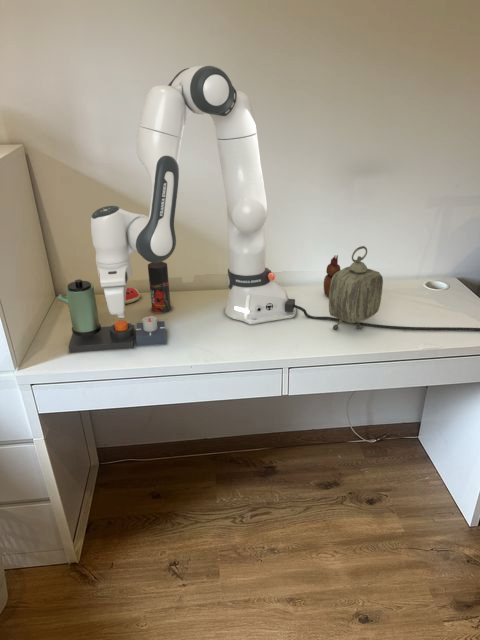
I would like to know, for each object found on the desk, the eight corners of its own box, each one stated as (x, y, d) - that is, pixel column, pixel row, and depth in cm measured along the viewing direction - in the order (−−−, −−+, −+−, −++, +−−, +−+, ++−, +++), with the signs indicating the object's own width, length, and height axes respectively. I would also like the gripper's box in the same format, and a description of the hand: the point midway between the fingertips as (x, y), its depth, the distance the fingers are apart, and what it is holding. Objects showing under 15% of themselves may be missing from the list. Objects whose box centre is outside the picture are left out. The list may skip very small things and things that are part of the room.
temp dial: (143, 326, 157) (141, 315, 155) (157, 324, 158) (156, 314, 156) (143, 332, 154) (142, 321, 152) (157, 331, 154) (156, 320, 153)
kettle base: (135, 330, 161) (133, 318, 159) (133, 348, 152) (132, 335, 150) (75, 334, 159) (72, 322, 157) (69, 353, 149) (67, 340, 147)
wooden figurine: (341, 300, 182) (344, 257, 174) (323, 299, 182) (326, 256, 174) (338, 292, 188) (342, 250, 180) (322, 291, 188) (324, 250, 180)
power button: (128, 325, 156) (127, 319, 155) (127, 331, 153) (127, 325, 152) (115, 326, 155) (114, 320, 155) (114, 332, 152) (113, 325, 151)
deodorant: (174, 307, 176) (170, 263, 168) (164, 314, 171) (159, 269, 164) (159, 304, 178) (154, 260, 171) (148, 311, 173) (143, 266, 166)
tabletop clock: (356, 315, 171) (363, 238, 159) (380, 324, 166) (389, 245, 153) (326, 329, 162) (332, 249, 150) (350, 340, 157) (358, 257, 144)
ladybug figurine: (145, 297, 182) (144, 287, 181) (123, 307, 175) (122, 297, 173) (130, 293, 186) (129, 283, 184) (109, 303, 178) (107, 293, 177)
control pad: (165, 330, 162) (164, 320, 160) (166, 344, 154) (165, 334, 152) (137, 332, 160) (136, 322, 159) (136, 346, 153) (135, 336, 151)
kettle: (102, 319, 159) (95, 271, 151) (99, 335, 150) (91, 285, 143) (66, 321, 157) (57, 273, 150) (61, 338, 148) (51, 287, 141)
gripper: (105, 256, 154) (112, 301, 161) (99, 283, 136) (107, 332, 143) (127, 255, 155) (134, 300, 161) (124, 281, 137) (131, 330, 144)
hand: (121, 315), depth 152 cm, fingers closed
